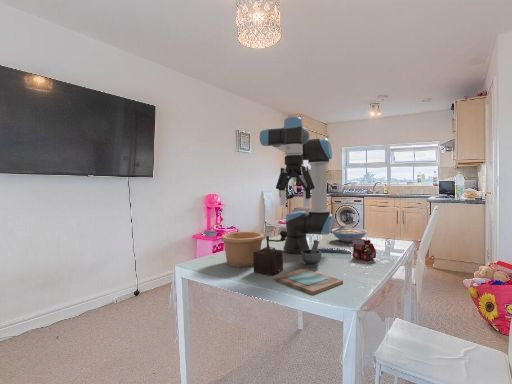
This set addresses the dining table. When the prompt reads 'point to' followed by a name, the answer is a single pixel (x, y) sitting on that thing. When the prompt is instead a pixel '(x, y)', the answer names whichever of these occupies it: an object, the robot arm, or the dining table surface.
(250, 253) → the pottery
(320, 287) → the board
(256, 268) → the manual coffee grinder
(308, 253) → the mortar and pestle
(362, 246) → the toy fire truck
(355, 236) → the ramen bowl
